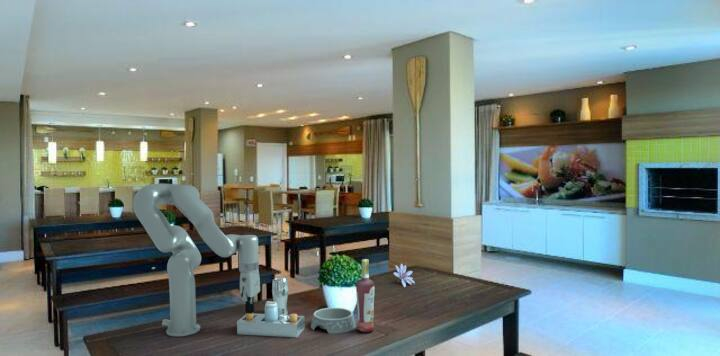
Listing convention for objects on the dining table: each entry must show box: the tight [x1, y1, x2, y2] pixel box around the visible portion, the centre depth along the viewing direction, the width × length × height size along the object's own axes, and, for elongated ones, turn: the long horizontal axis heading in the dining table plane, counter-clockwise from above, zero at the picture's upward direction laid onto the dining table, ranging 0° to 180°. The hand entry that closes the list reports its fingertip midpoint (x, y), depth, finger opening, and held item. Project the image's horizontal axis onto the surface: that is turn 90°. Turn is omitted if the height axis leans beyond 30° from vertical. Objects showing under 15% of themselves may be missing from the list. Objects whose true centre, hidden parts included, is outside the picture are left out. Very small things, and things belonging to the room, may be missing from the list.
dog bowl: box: [310, 307, 357, 335], centre depth 192 cm, size 17×18×5 cm
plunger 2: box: [288, 313, 298, 323], centre depth 184 cm, size 3×3×5 cm
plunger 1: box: [245, 313, 253, 321], centre depth 187 cm, size 3×3×5 cm
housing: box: [236, 312, 306, 338], centre depth 186 cm, size 24×10×5 cm, turn 81°
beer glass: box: [271, 277, 289, 315], centre depth 207 cm, size 7×7×15 cm
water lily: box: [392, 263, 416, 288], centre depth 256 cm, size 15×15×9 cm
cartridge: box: [264, 300, 278, 322], centre depth 186 cm, size 5×5×12 cm
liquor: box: [355, 258, 376, 333], centre depth 185 cm, size 7×7×28 cm
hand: (249, 312), depth 187 cm, fingers closed
